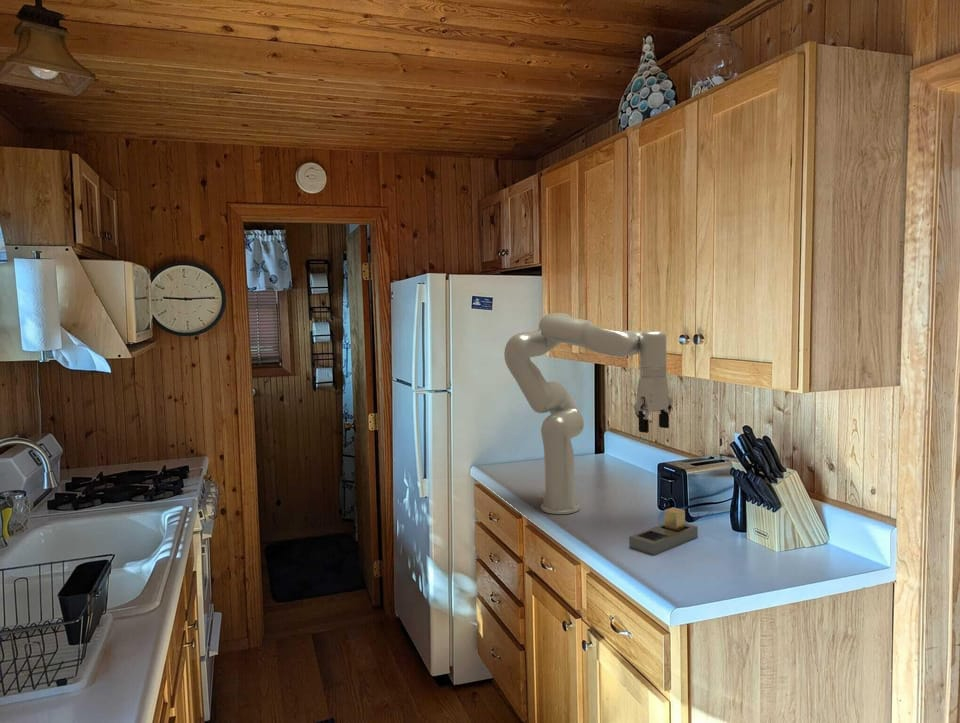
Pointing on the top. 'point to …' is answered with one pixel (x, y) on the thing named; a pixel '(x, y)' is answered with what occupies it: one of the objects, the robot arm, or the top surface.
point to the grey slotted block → (661, 539)
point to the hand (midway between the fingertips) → (654, 429)
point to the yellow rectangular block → (674, 519)
